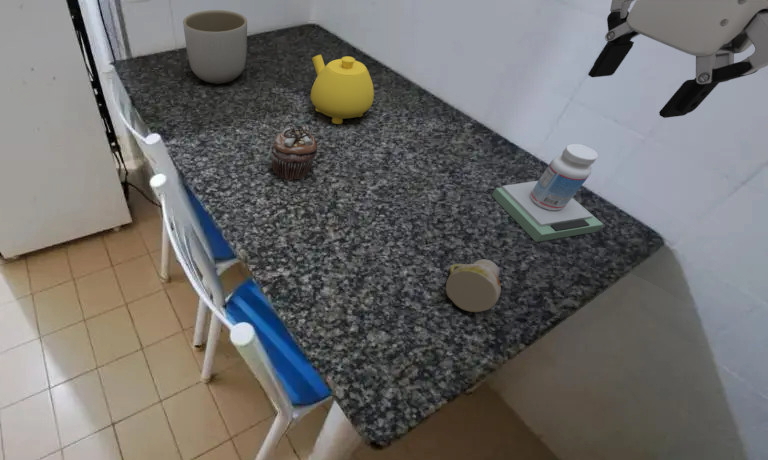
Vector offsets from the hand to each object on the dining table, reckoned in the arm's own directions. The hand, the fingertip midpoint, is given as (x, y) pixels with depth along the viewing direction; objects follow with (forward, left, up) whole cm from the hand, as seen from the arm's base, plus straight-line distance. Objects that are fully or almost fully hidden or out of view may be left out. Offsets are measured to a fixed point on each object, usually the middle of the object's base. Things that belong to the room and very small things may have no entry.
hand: (632, 94), depth 45 cm
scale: (+9, -14, -30) cm, 35 cm away
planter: (+79, +39, -31) cm, 93 cm away
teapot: (+55, +12, -31) cm, 64 cm away
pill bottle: (+10, -14, -28) cm, 33 cm away
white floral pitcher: (-4, +11, -31) cm, 33 cm away
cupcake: (+32, +30, -31) cm, 53 cm away
